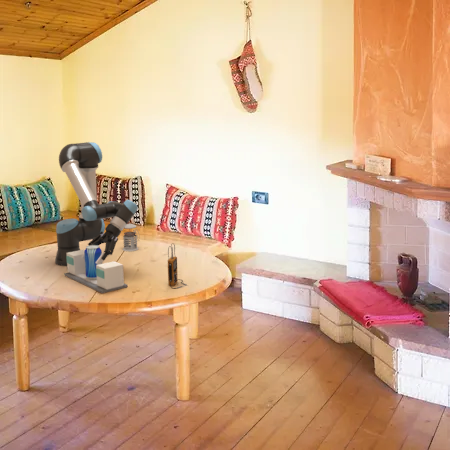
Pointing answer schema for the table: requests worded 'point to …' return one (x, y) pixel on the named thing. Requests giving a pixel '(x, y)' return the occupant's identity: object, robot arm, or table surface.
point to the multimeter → (172, 269)
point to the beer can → (91, 260)
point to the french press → (130, 238)
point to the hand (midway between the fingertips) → (90, 261)
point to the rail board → (106, 273)
